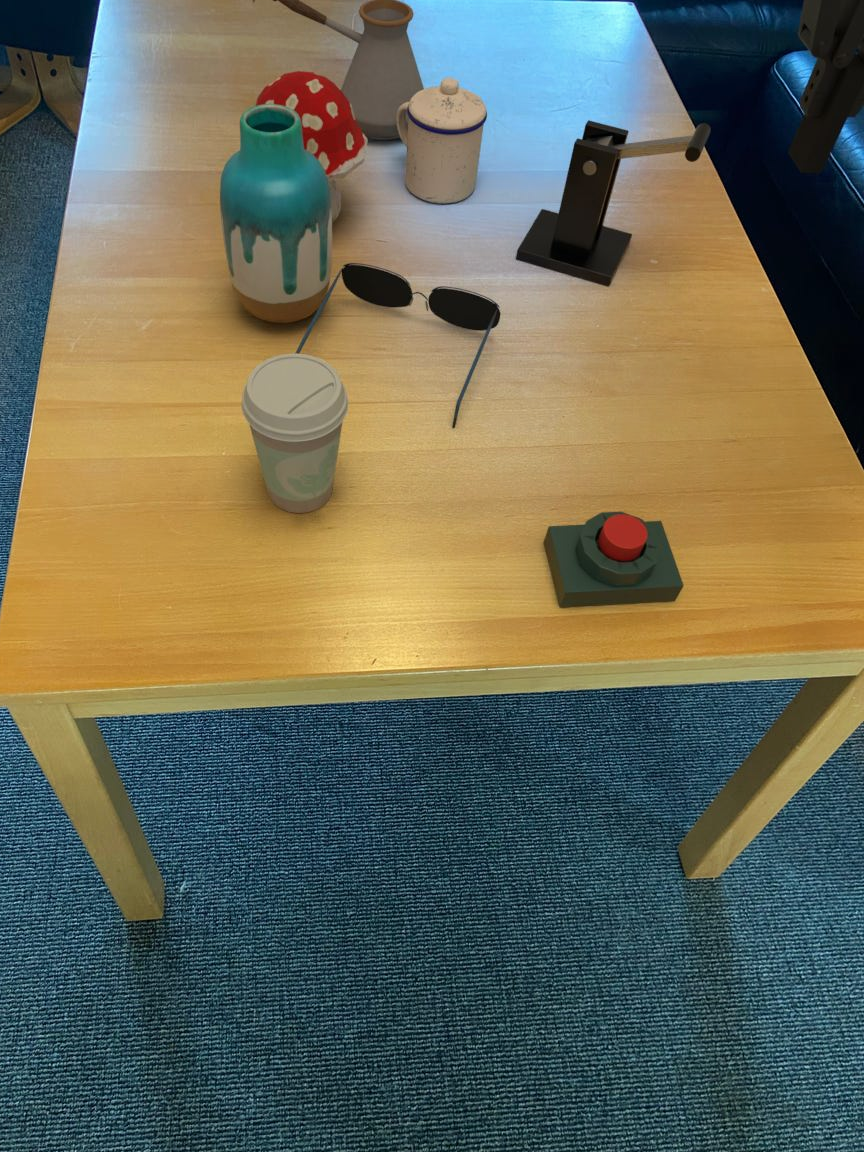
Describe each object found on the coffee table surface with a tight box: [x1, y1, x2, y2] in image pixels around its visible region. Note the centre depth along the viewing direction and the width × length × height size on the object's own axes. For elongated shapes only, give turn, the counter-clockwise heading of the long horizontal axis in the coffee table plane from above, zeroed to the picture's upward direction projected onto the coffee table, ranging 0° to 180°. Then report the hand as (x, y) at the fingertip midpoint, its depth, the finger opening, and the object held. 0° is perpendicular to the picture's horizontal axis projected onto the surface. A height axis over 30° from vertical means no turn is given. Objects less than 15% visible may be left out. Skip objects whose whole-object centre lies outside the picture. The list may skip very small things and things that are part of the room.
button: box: [598, 514, 648, 562], centre depth 70 cm, size 4×4×2 cm
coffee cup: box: [241, 352, 349, 514], centre depth 72 cm, size 8×8×12 cm
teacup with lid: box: [396, 77, 488, 204], centre depth 100 cm, size 12×9×12 cm
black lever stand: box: [515, 120, 633, 287], centre depth 93 cm, size 11×9×13 cm
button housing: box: [543, 511, 685, 608], centre depth 72 cm, size 10×7×4 cm
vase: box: [219, 104, 333, 324], centre depth 83 cm, size 11×11×19 cm
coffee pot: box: [252, 0, 425, 141], centre depth 105 cm, size 21×12×15 cm, turn 89°
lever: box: [586, 122, 712, 163], centre depth 87 cm, size 12×5×2 cm, turn 67°
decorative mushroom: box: [254, 70, 369, 224], centre depth 93 cm, size 14×14×15 cm
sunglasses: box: [295, 262, 501, 429], centre depth 86 cm, size 17×15×5 cm
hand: (804, 161), depth 61 cm, fingers closed
